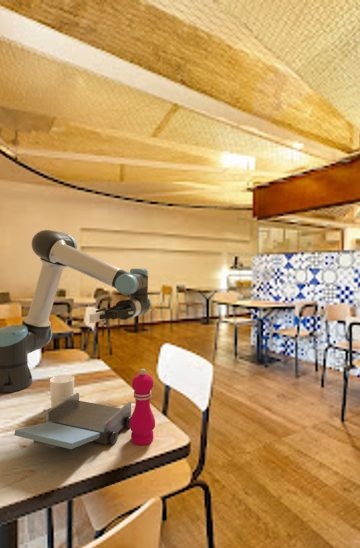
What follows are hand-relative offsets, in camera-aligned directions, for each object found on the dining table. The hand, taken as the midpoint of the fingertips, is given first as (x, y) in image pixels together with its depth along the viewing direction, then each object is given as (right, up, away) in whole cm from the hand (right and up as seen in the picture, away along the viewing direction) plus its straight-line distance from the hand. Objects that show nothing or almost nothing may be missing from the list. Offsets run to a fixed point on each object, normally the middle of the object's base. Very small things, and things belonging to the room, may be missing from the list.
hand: (91, 318), depth 98 cm
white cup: (-12, -32, +8) cm, 35 cm away
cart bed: (+1, -32, -5) cm, 33 cm away
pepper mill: (+17, -33, -11) cm, 39 cm away
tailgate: (-2, -29, -13) cm, 32 cm away
